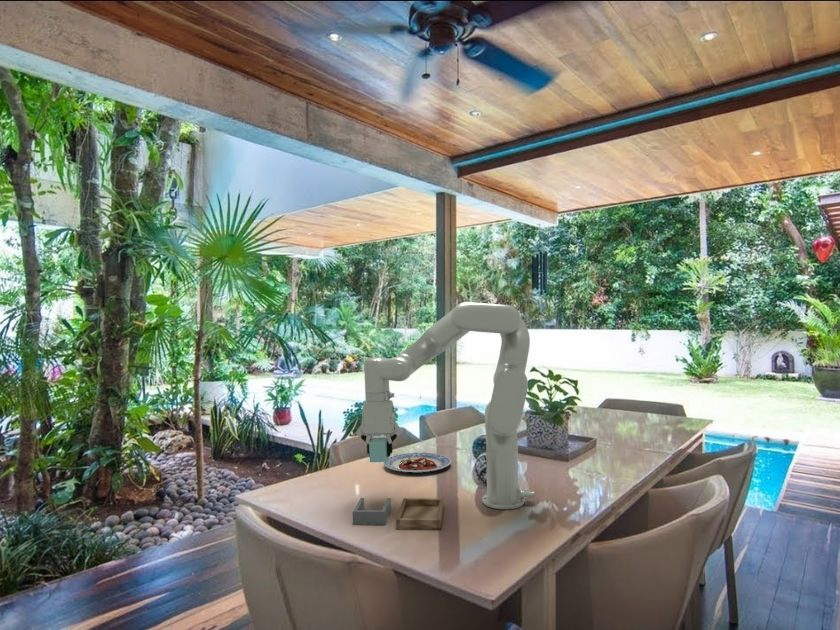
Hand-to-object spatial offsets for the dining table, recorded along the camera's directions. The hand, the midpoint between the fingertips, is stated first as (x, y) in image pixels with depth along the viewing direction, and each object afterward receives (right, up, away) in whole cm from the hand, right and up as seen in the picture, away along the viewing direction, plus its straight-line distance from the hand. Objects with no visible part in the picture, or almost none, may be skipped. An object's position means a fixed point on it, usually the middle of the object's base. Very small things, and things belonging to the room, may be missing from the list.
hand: (379, 455), depth 159 cm
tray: (+13, -14, -13) cm, 23 cm away
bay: (-1, -14, -12) cm, 19 cm away
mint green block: (0, -1, +2) cm, 2 cm away
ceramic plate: (+11, -15, +38) cm, 42 cm away
